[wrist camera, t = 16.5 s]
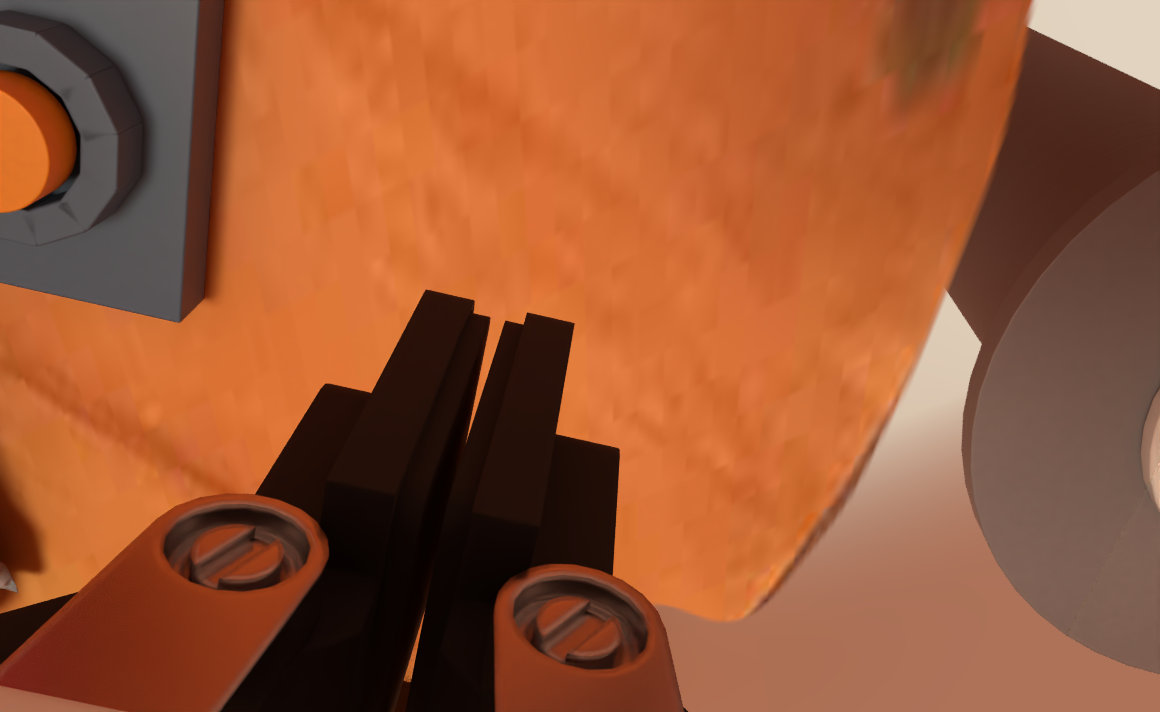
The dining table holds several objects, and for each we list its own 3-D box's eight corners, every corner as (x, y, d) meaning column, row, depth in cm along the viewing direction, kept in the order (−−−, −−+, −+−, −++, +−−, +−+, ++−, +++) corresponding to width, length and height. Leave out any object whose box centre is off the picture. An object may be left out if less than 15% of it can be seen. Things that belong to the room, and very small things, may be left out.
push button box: (227, -38, 34) (177, -25, 31) (204, 300, 39) (158, 345, 36) (-85, -112, 34) (-173, -108, 30) (-67, 239, 39) (-141, 278, 35)
